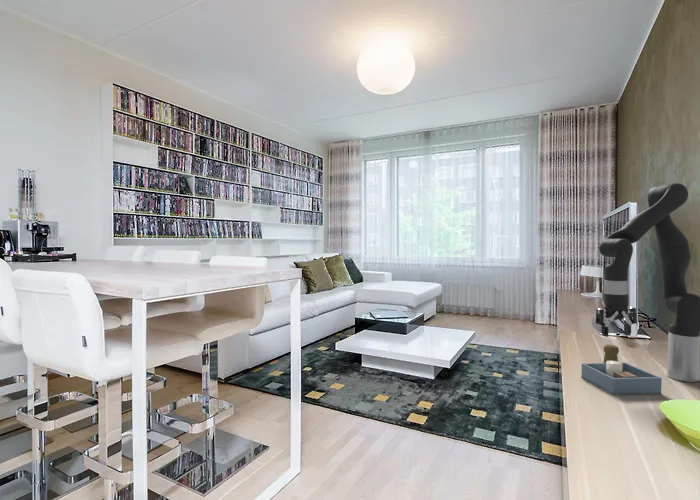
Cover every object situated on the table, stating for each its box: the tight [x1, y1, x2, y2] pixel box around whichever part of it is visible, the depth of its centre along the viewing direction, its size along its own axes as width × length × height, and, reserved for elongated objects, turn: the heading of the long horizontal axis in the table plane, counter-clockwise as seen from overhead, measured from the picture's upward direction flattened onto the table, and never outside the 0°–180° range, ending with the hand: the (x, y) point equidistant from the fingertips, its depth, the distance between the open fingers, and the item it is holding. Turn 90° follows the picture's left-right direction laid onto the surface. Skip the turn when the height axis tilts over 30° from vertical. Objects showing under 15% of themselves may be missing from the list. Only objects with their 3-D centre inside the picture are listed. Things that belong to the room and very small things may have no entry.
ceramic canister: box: [606, 361, 623, 378], centre depth 146 cm, size 5×5×7 cm
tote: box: [581, 362, 663, 396], centre depth 143 cm, size 18×17×6 cm
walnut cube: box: [613, 372, 638, 378], centre depth 139 cm, size 5×5×5 cm
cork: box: [602, 344, 620, 363], centre depth 157 cm, size 6×6×11 cm
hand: (616, 335), depth 145 cm, fingers open, 8 cm apart
